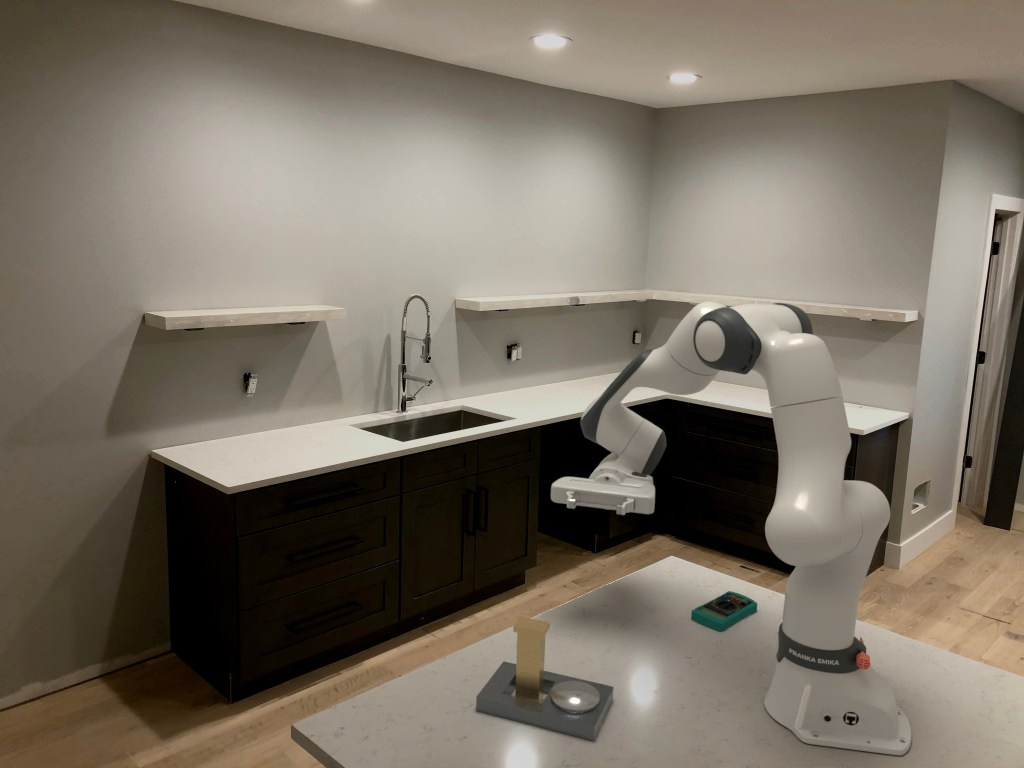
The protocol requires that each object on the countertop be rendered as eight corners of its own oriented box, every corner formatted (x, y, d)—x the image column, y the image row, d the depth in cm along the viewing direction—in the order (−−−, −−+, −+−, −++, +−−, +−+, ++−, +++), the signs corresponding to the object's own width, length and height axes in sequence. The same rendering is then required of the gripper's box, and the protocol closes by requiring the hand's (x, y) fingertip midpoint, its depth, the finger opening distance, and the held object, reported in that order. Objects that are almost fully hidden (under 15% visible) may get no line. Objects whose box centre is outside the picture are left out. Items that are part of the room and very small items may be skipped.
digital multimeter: (758, 612, 169) (760, 599, 169) (720, 635, 159) (721, 621, 159) (728, 600, 174) (729, 588, 174) (689, 621, 164) (690, 608, 164)
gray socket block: (612, 700, 135) (613, 682, 134) (594, 741, 124) (595, 721, 123) (503, 674, 142) (503, 657, 141) (476, 710, 131) (476, 692, 130)
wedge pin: (546, 698, 135) (549, 621, 132) (541, 710, 131) (544, 631, 129) (517, 692, 136) (519, 616, 134) (511, 703, 133) (513, 626, 130)
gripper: (560, 465, 164) (542, 484, 151) (660, 477, 158) (650, 497, 145) (559, 495, 165) (541, 516, 152) (658, 507, 159) (648, 530, 146)
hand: (595, 507), depth 148 cm, fingers open, 8 cm apart
